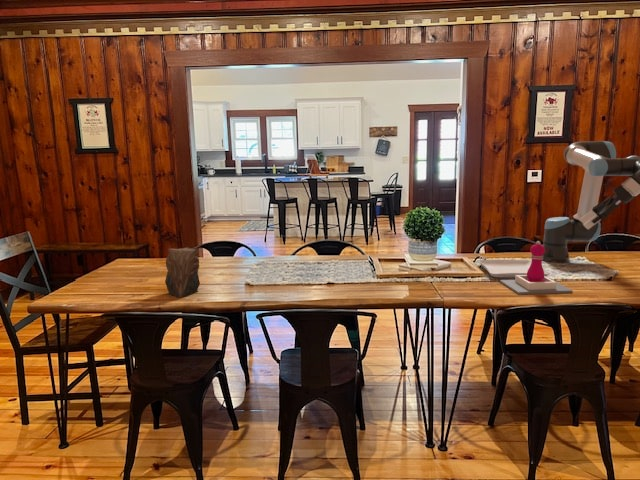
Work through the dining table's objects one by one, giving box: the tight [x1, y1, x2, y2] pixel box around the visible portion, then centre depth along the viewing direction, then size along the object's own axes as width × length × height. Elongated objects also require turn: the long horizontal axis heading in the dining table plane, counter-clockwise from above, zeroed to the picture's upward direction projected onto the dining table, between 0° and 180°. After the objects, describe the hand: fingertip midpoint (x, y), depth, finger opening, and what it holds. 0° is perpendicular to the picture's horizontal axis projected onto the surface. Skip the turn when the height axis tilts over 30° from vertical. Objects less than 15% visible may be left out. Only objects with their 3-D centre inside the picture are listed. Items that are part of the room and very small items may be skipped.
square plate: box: [477, 259, 550, 279], centre depth 230 cm, size 27×27×4 cm
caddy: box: [499, 275, 573, 295], centre depth 206 cm, size 18×24×4 cm
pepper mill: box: [527, 240, 545, 282], centre depth 205 cm, size 7×7×20 cm
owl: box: [164, 246, 201, 299], centre depth 203 cm, size 13×13×20 cm
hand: (583, 224), depth 201 cm, fingers open, 13 cm apart
